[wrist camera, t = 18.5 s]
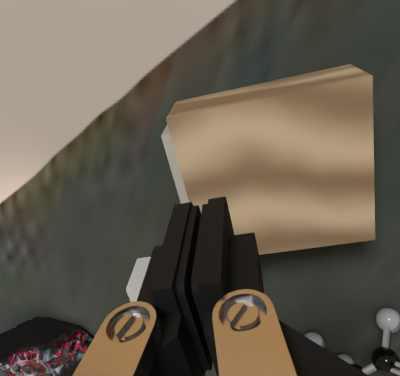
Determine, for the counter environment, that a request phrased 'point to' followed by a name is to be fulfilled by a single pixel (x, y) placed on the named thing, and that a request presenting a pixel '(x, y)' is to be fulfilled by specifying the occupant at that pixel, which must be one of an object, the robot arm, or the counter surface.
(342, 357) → the molecular model
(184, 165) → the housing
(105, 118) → the counter surface
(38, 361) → the fabric swatch
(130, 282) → the block
